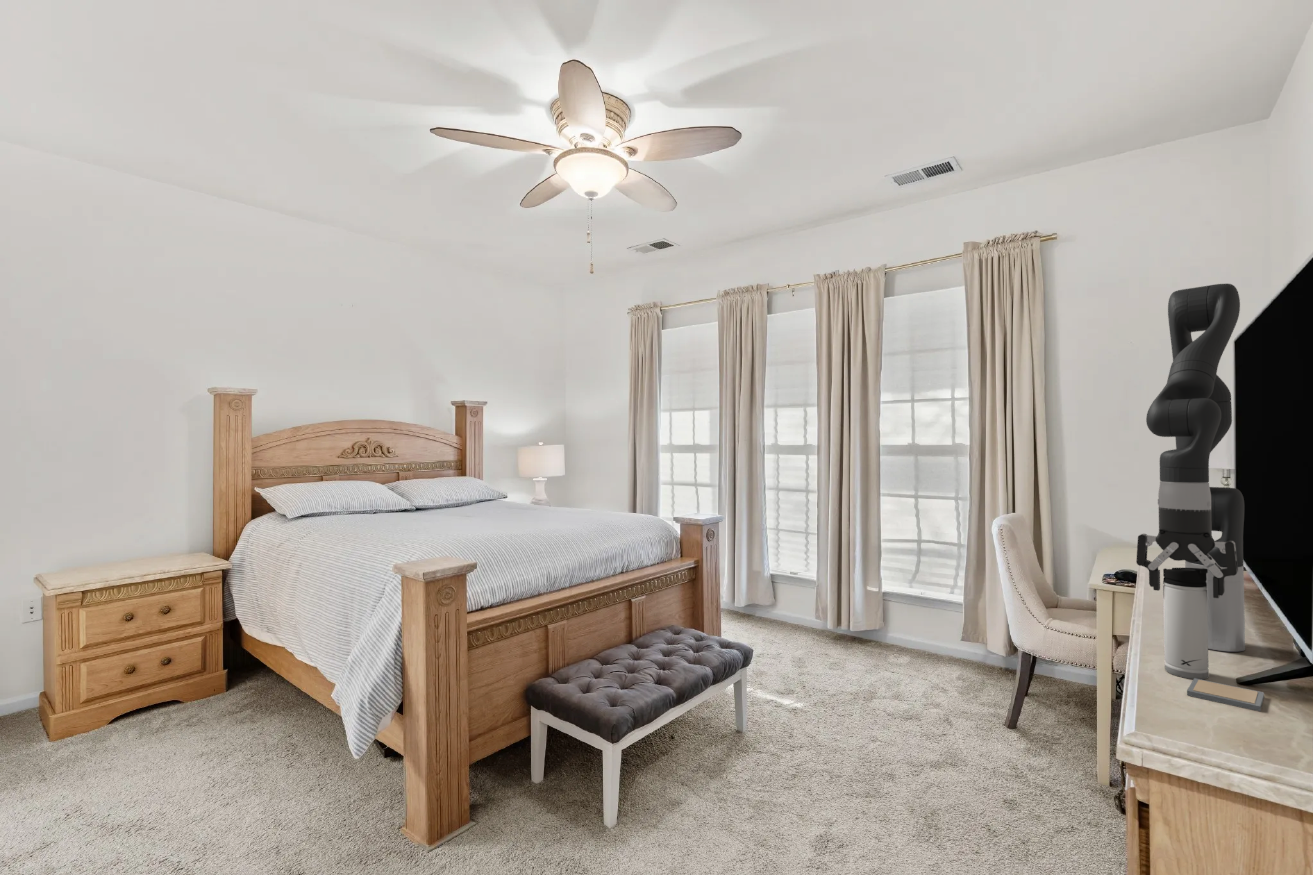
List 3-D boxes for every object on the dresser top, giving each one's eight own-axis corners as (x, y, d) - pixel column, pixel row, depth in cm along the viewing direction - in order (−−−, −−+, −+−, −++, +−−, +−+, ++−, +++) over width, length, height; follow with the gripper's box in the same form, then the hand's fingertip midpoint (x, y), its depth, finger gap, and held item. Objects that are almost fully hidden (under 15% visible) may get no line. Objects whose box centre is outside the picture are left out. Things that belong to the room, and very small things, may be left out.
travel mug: (1194, 682, 112) (1192, 570, 112) (1156, 669, 119) (1154, 563, 119) (1219, 678, 114) (1217, 568, 114) (1180, 665, 120) (1178, 561, 120)
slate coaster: (1194, 682, 112) (1194, 677, 112) (1264, 697, 106) (1263, 691, 106) (1187, 695, 107) (1186, 689, 107) (1260, 711, 100) (1260, 705, 100)
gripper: (1238, 507, 114) (1240, 596, 114) (1140, 502, 124) (1142, 584, 124) (1234, 510, 109) (1235, 604, 109) (1132, 505, 119) (1133, 590, 119)
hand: (1185, 593), depth 116 cm, fingers open, 8 cm apart
